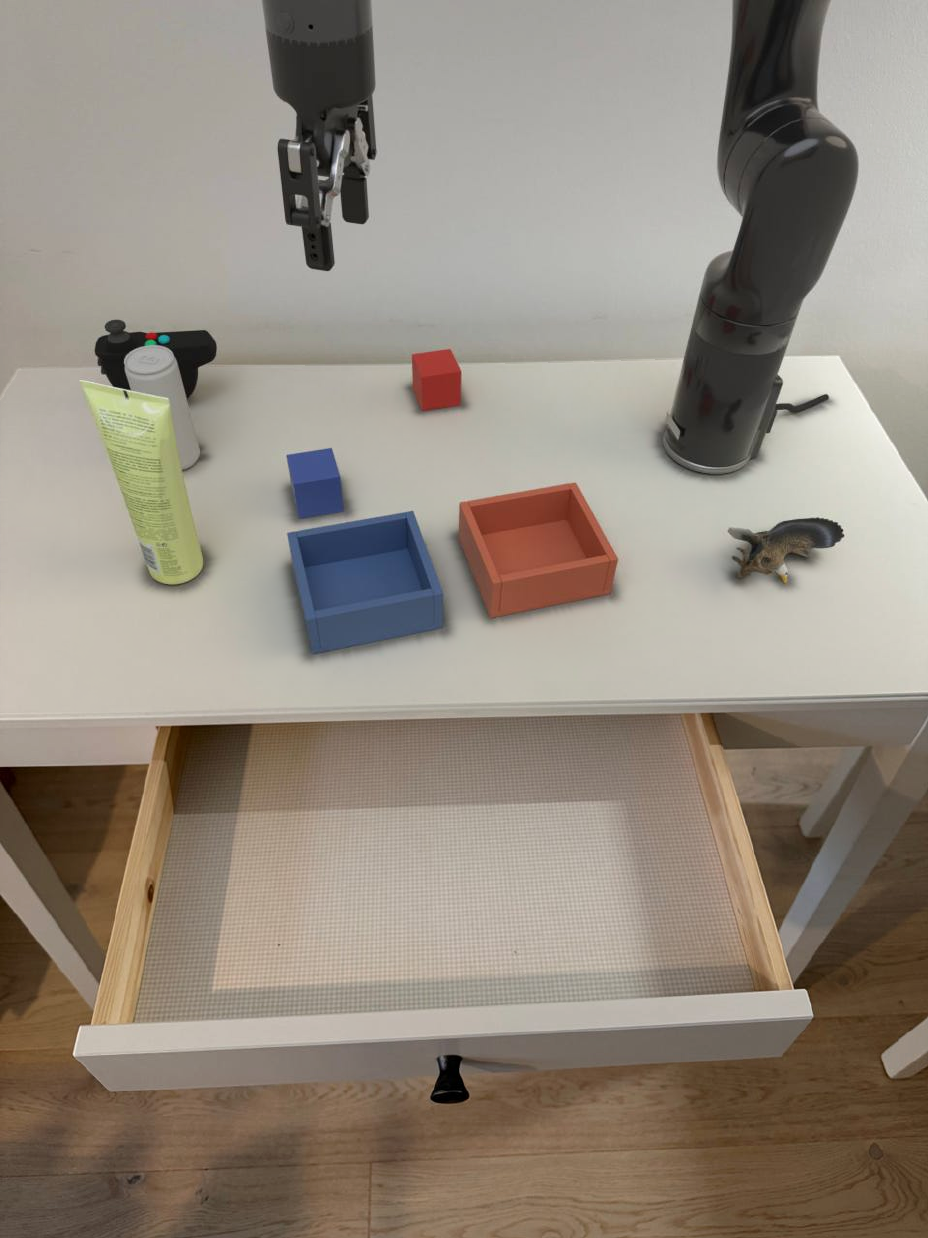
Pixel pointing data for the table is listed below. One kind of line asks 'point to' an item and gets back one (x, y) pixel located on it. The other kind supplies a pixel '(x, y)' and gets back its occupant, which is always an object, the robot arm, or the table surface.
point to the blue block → (315, 483)
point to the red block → (436, 379)
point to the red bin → (535, 549)
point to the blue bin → (365, 581)
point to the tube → (149, 477)
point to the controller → (184, 345)
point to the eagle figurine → (784, 543)
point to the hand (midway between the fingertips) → (339, 243)
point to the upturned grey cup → (164, 393)
